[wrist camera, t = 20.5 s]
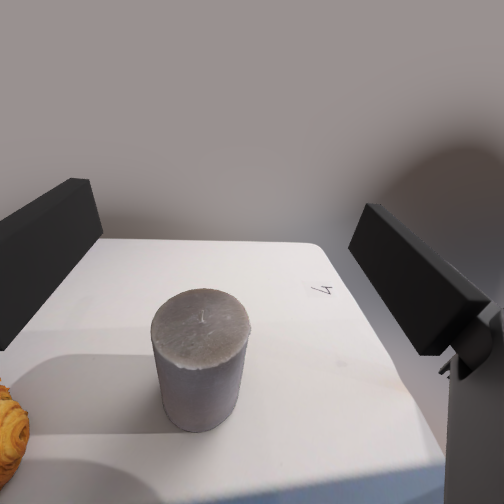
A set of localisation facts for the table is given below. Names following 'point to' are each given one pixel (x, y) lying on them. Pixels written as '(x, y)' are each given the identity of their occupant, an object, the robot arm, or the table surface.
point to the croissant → (11, 435)
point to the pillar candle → (200, 356)
